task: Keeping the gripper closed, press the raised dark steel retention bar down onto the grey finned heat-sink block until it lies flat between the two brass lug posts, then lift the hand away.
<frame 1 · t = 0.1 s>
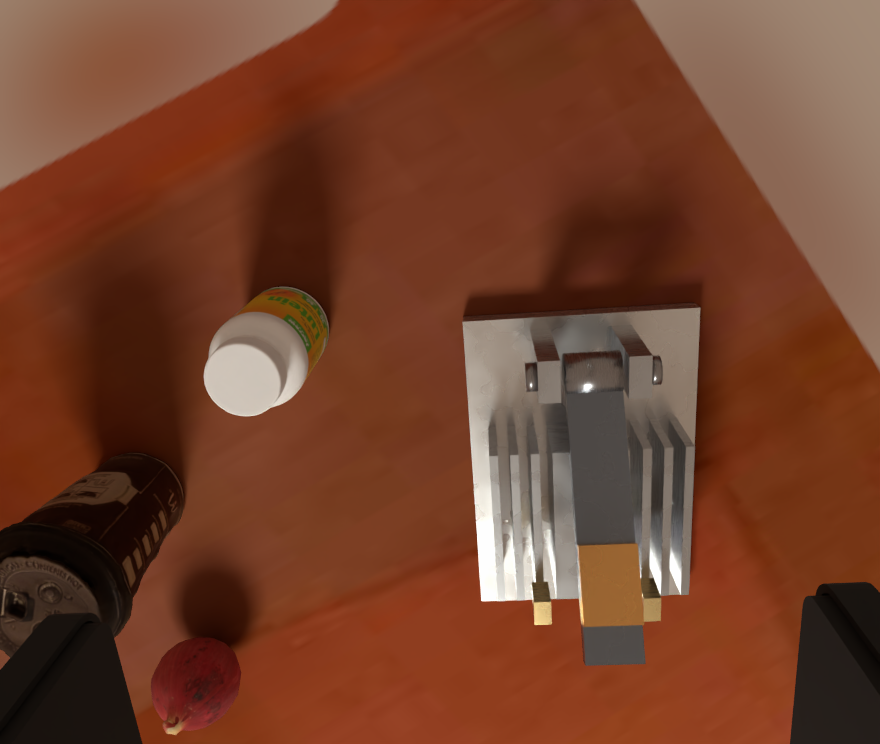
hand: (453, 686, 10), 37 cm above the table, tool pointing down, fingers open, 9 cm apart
coffee cup: (139, 490, 52), on the table
supplement bottle: (288, 326, 47), on the table
strap: (601, 502, 40), point 9 cm above the table, hinge at 28.0°
heatsink base: (579, 457, 49), on the table
onion: (215, 643, 56), on the table
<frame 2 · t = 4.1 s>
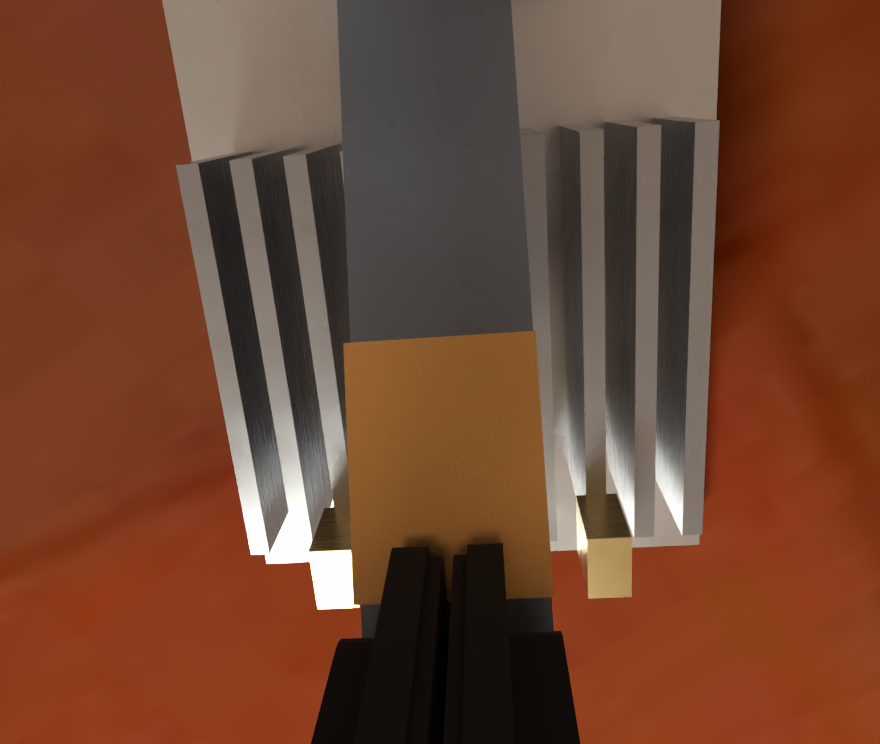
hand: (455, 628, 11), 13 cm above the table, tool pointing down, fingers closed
strap: (437, 226, 13), point 9 cm above the table, hinge at 26.1°, touching gripper
heatsink base: (456, 239, 22), on the table
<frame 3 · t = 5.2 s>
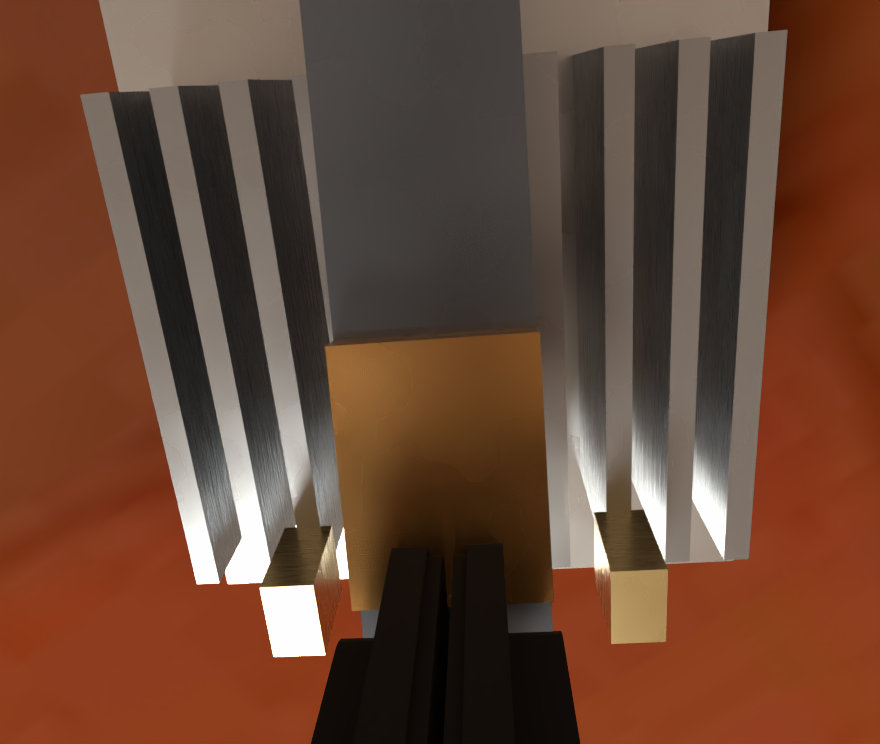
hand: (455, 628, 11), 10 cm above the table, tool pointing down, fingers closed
strap: (425, 189, 11), point 7 cm above the table, hinge at 10.7°, touching gripper
heatsink base: (447, 200, 18), on the table
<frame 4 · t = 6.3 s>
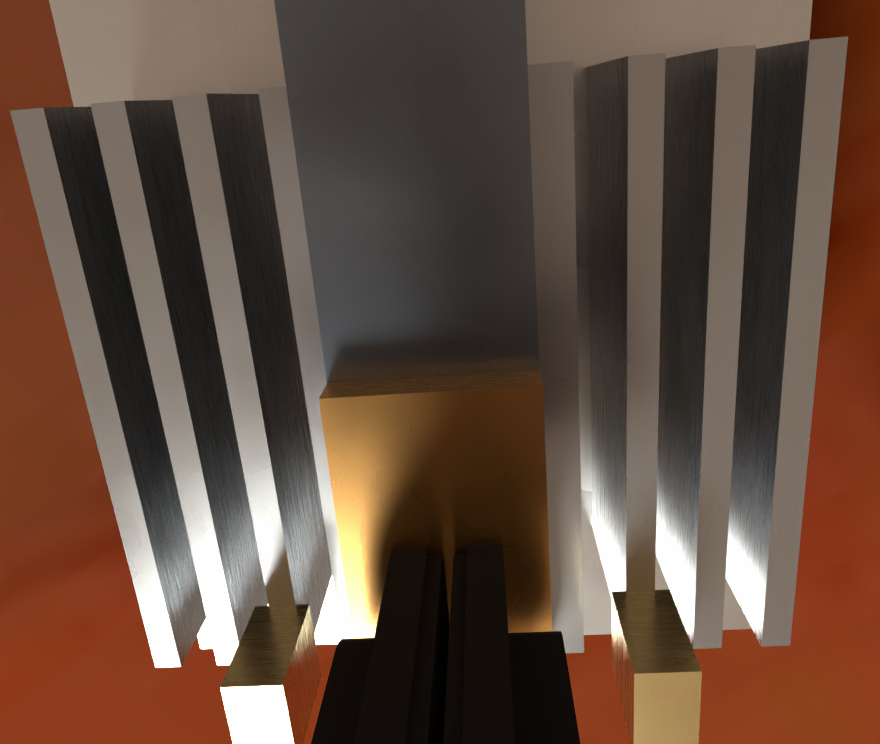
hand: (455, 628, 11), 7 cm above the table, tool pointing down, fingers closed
strap: (421, 221, 10), point 6 cm above the table, hinge at 0.7°, touching gripper
heatsink base: (444, 228, 16), on the table
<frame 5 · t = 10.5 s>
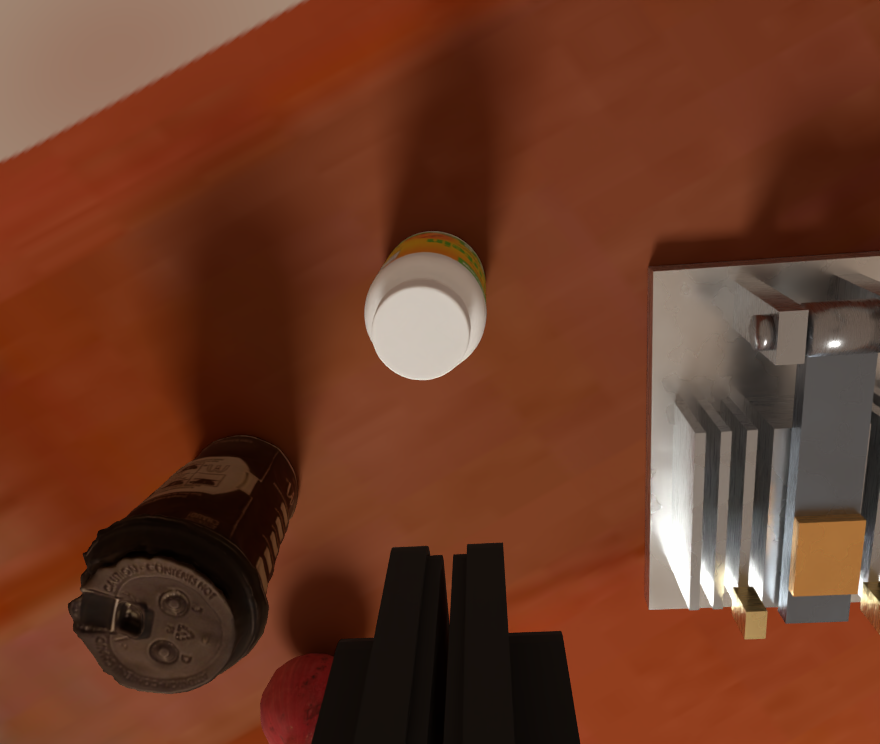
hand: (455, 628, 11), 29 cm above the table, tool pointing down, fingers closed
coffee cup: (244, 479, 44), on the table
supplement bottle: (434, 280, 39), on the table
strap: (826, 470, 35), point 6 cm above the table, hinge at 0.4°
heatsink base: (775, 438, 41), on the table
onion: (324, 660, 48), on the table
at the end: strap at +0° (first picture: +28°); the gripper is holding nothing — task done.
